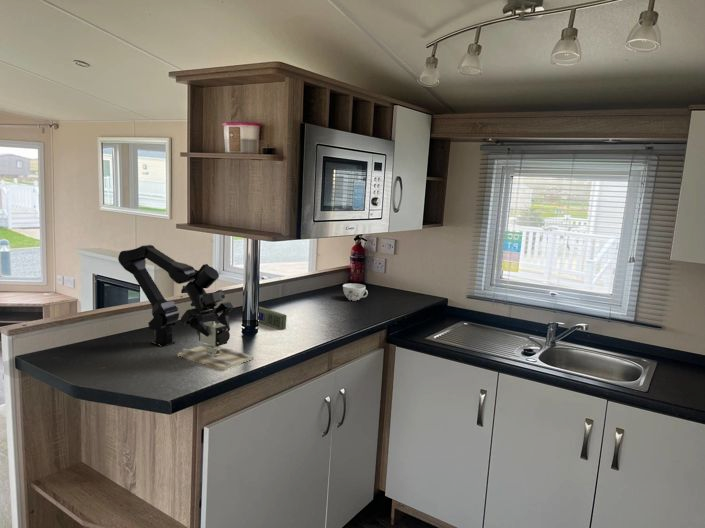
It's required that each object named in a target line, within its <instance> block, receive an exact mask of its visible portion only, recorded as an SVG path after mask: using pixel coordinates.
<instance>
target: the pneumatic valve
mask: <svg viewBox="0 0 705 528" xmlns="http://www.w3.org/2000/svg"><path fill="white" fill-rule="evenodd" d="M203 323H204V325H205V327H206V328H207V330H208V333H209V336H208V337H207V336H205V335H204V334H202V333H201V332H199V331H198V330H196V334H197V336H198V341H199V342H202V343H207V344H210V345H209V346H208V345H207V346H206V349H205V351H206V355H208V356H211V357H214V356H217V355H218V356H219V355H220V352H221V351H220V349H219V348H220V347H221V346H223V345H227V344H228V341H229V340H230V337H231V333H230V331H227V330H228V326H226V325H223V324H221V323H220V322H216V321H211V320H210V321H203Z"/></svg>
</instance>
